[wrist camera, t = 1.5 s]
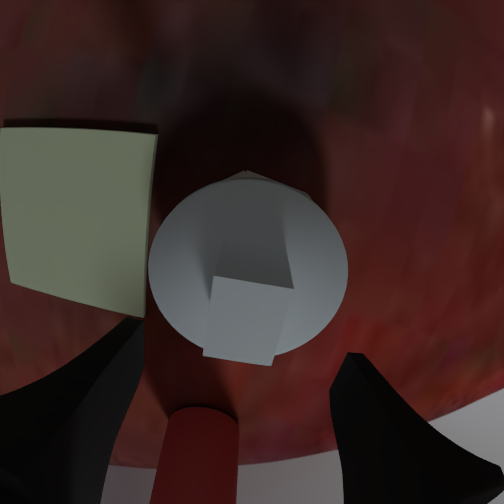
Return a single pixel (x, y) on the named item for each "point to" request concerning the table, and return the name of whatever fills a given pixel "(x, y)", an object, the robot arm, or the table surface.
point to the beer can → (198, 459)
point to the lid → (248, 269)
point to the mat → (78, 213)
